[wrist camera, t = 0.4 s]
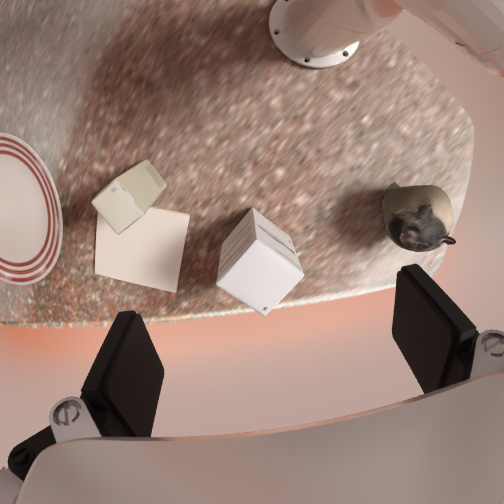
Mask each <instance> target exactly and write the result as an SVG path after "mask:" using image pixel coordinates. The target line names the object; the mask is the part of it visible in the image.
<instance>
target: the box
mask: <svg viewBox="0 0 504 504" xmlns="http://www.w3.org/2000/svg"><path fill="white" fill-rule="evenodd" d="M166 187H167V184H166V183H165V181H164V180H163V179H162V177H161V176H160V175H159V173H158V172H157V171H156V169H155V168H154V167H153V166H152V164H151V163H150V162H149V161H148V159H145V160H144V161H142V162H140V163H139V164H137V165H135V166H134V167H132V168H131V169H129V170H128V171H126V172H125V173H123V174H121V175H120V176H118V177H117V178H115V179H114V180H113V181H112V182H111V183H110V184H108V185H107V186H106V187H105V188H104V189H103V190H102V191H101V192H100V193H99V194H98V195H97V196H96V197H95V198H94V199H93V200H92V202H91V203H92V204H93V206H94V207H95V208H96V210H97V211H98V212H99V214H100V215H101V216H102V217H103V219H104V220H105V221H106V222H107V224H108V225H109V226H110V227H111V228H112V230H113V231H114V232H115V233H116V234H117V235H120V234H121V233H122V232H124V231H125V230H126V229H128V228H129V227H130V226H132V225H133V224H134V223H135V222H137V221H138V220H139V219H140V218H141V217H143V216H144V215H145V213H146V212H147V210H148V209H149V208H150V207H151V205H152V204H153V203H154V201H155V200H156V199H157V198H158V197H159V195H160V194H161V193H162V192H163V191H164V189H165V188H166Z"/></svg>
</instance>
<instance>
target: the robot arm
mask: <svg viewBox="0 0 504 504" xmlns="http://www.w3.org/2000/svg"><path fill="white" fill-rule="evenodd" d="M403 9H406V10H407V11H409V12H410V13H411V14H413V15H414V16H416V17H418V18H420V19H421V20H422V21H424V22H425V23H427V24H428V25H429V26H430V27H432V28H433V29H434V30H435V31H437V32H438V33H439V34H440V35H442V36H443V37H444V38H445V39H447V40H448V41H449V42H450V43H451V44H452V45H454V46H455V47H456V48H457V49H458V50H460V51H461V52H462V53H463V54H464V55H465V56H466V57H468V58H469V59H470V60H471V61H472V62H473V63H475V64H476V65H477V66H478V67H480V68H481V69H483V70H484V71H486V72H488V73H490V74H493V75H495V76H500V77H504V0H288V2H287V1H284V0H277V1H276V3H275V4H274V5H273V8H272V10H271V12H270V16H269V31H270V35H271V37H272V40H273V42H274V43H275V45H276V46H277V48H278V49H279V50H280V51H281V52H282V53H283V54H284V55H285V56H286V57H288V58H289V59H290V60H292V61H294V62H296V63H298V64H300V65H303V66H306V67H311V68H329V67H334V66H336V65H339V64H341V63H343V62H345V61H346V60H348V59H349V58H350V57H351V56H352V55H353V54H354V53H355V51H356V49H357V48H358V46H359V42H360V40H361V39H363V38H365V37H367V36H369V35H371V34H373V33H375V32H377V31H379V30H380V29H382V28H384V27H386V26H388V25H389V24H391V23H392V22H394V21H395V20H396V19H397V18H398V17H399V16H400V14H401V13H402V11H403ZM275 32H278V34H277V35H276V34H275ZM343 53H344V54H345V56H343ZM305 59H307V61H308V62H305V61H304V60H305ZM392 335H393V338H394V340H395V341H396V343H397V345H398V347H399V349H400V350H401V352H402V354H403V356H404V357H405V359H406V361H407V363H408V365H409V366H410V368H411V370H412V372H413V374H414V375H415V377H416V379H417V381H418V383H419V384H420V386H421V388H422V390H423V392H424V394H423V395H420V396H417V397H414V398H411V399H407V400H404V401H401V402H397V403H394V404H390V405H387V406H383V407H380V408H376V409H372V410H368V411H364V412H360V413H356V414H352V415H348V416H344V417H339V418H334V419H329V420H325V421H320V422H314V423H309V424H303V425H298V426H291V427H284V428H278V429H270V430H263V431H255V432H245V433H235V434H224V435H209V436H190V437H151V432H152V428H153V423H154V418H155V414H156V409H157V404H158V400H159V396H160V391H161V387H162V382H163V378H164V368H163V365H162V363H161V361H160V358H159V356H158V354H157V352H156V350H155V347H154V345H153V343H152V341H151V338H150V336H149V333H148V331H147V329H146V327H145V324H144V322H143V319H142V317H141V315H140V314H136V312H135V311H133V310H132V311H123V312H119V313H118V314H117V316H116V318H115V320H114V322H113V324H112V326H111V328H110V330H109V332H108V334H107V336H106V338H105V340H104V342H103V344H102V346H101V348H100V350H99V353H98V354H97V357H96V359H95V361H94V363H93V365H92V367H91V369H90V372H89V374H88V376H87V378H86V380H85V382H84V385H83V387H82V389H81V392H82V394H81V396H80V398H78V397H67V398H64V399H62V400H60V401H59V402H57V403H56V404H55V405H54V406H53V408H52V410H51V411H50V415H49V421H50V426H48V427H46V428H45V429H43V430H41V431H40V432H38V433H36V434H35V435H33V436H32V437H30V438H28V439H27V440H25V441H23V442H22V443H20V444H18V445H17V446H16V447H14V448H13V450H12V451H11V452H10V455H9V458H8V468H7V469H6V468H5V467H3V468H2V469H1V470H0V504H504V332H502V331H499V330H486V331H485V332H482V333H481V334H479V333H478V331H477V330H476V326H475V325H474V324H473V323H472V322H471V321H470V320H469V318H467V316H466V315H465V314H464V313H463V312H462V311H461V310H460V308H459V307H458V306H457V305H456V304H455V303H454V302H453V301H452V300H451V298H450V297H449V296H448V295H447V294H446V293H445V292H444V291H443V290H442V289H441V288H440V287H439V286H438V285H437V284H436V283H435V281H434V280H433V279H432V278H431V277H430V276H429V275H428V274H427V273H426V272H425V271H424V270H423V269H422V268H421V267H420V266H419V265H418V264H412V265H407V266H403V267H402V268H401V271H398V273H397V280H396V293H395V305H394V315H393V324H392Z"/></svg>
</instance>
